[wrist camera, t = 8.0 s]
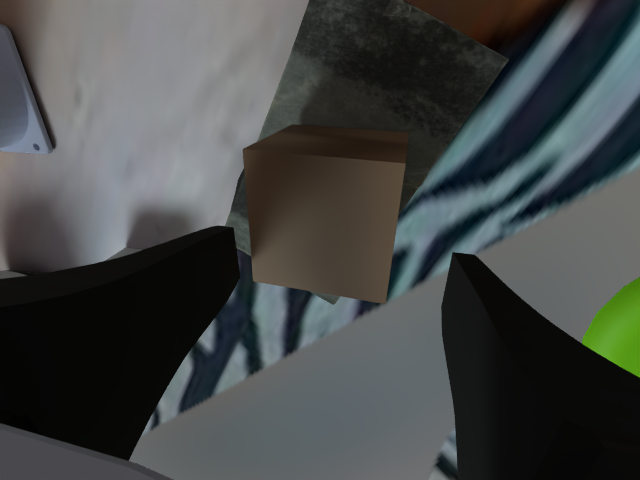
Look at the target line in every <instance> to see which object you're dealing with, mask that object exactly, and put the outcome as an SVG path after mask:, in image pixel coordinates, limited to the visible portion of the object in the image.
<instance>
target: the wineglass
mask: <svg viewBox="0 0 640 480" xmlns="http://www.w3.org/2000/svg"><path fill="white" fill-rule="evenodd" d="M582 344H583V345H585V346H586V347H588V348H590V349H591V350H593V351H595V352H596V353H598V354H600V355H601V356H603V357H605V358H606V359H608V360H610V361H611V362H613V363H615V364H616V365H618V366H620V367H622V368H623V369H625V370H627V371H629V372H631V373H632V374H634V375H636V376H638V377H640V277H639V278H637V279H636V280H634V281H633V282H631V283H630V284H628V285H626V286H624V287H623V288H622V289H621V290H620V291H619V292H618V293H617V294H616V295H615V296H614V297H613V298H612V299H611V300H610V301H609V302H608V303H607V304H606V305H605V306H604V307H603V308H602V309H601V310H599V311H598V313H597V314H596V316H595V318H594V319H593V321H592V323H591V325H590V327H589V328H588V330H587V331H586V334H585V335H584V337H583V340H582Z"/></svg>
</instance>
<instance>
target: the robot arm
mask: <svg viewBox="0 0 640 480" xmlns="http://www.w3.org/2000/svg"><path fill="white" fill-rule="evenodd" d="M52 150H53V149H52V145H51V142H50V139H49V137H48V134H47V131H46V128H45V125H44V123H43V120H42V117H41V114H40V112H39V109H38V106H37V103H36V101H35V98H34V95H33V92H32V89H31V87H30V84H29V81H28V78H27V76H26V73H25V70H24V67H23V64H22V62H21V59H20V56H19V53H18V51H17V48H16V45H15V42H14V40H13V37H12V34H11V32H10V30H9V29H8V28H7V27H6V26H5V25H2V24H0V151H7V152H21V153H34V154H49V153H51V152H52ZM239 278H240V271H239V264H238V256H237V248H236V241H235V233H234V227H226V226H213V227H209V228H206V229H202V230H199V231H196V232H193V233H191V234H188V235H185V236H182V237H179V238H177V239H174V240H171V241H168V242H165V243H163V244H160V245H157V246H154V247H151V248H147V249H144V250H141V251H138V252H135V253H132V254H129V255H126V256H122V257H118V258H115V259H111V260H107V261H103V262H99V263H95V264H91V265H86V266H81V267H75V268H70V269H65V270H60V271H55V272H49V273H42V274H35V275H28V276H20V277H12V278H3V279H0V480H173V479H171V478H169V477H166V476H164V475H162V474H160V473H157V472H155V471H153V470H150V469H148V468H146V467H144V466H141V465H139V464H137V463H133V462H130V461H129V459H130V457H131V455H132V452H133V450H134V448H135V446H136V444H137V442H138V441H139V439H140V437H141V435H142V433H143V431H144V429H145V427H146V425H147V423H148V421H149V419H150V417H151V415H152V413H153V412H154V410H155V408H156V406H157V404H158V403H159V401H160V399H161V397H162V395H163V394H164V392H165V390H166V388H167V386H168V385H169V383H170V381H171V380H172V378H173V376H174V375H175V373H176V371H177V370H178V368H179V366H180V365H181V363H182V361H183V360H184V358H185V357H186V355H187V354H188V353H189V351H190V350H191V348H192V347H193V346H194V344H195V343H196V342H197V340H198V339H199V338H200V336H201V335H202V334H203V332H204V331H205V330H206V329H207V327H208V326H209V325H210V323H211V322H212V321H213V319H214V318H215V317H216V315H217V314H218V313H219V311H220V310H221V309H222V307H223V306H224V305H225V303H226V302H227V300H228V299H229V297H230V295H231V294H232V292H233V290H234V288H235V286H236V284H237V282H238V280H239ZM441 307H442V308H441V309H442V337H443V343H444V350H445V355H446V362H447V368H448V374H449V380H450V386H451V392H452V398H453V405H454V413H455V428H456V445H457V466H458V480H640V377H638V376H636V375H634V374H632V373H631V372H629V371H627V370H625V369H623V368H622V367H620V366H618V365H616V364H615V363H613V362H611V361H610V360H608V359H606V358H605V357H603V356H601V355H600V354H598V353H596V352H595V351H593V350H591V349H590V348H588V347H586V346H585V345H583V344H582V343H580V342H579V341H577V340H575V339H574V338H573V337H571V336H569V335H568V334H567V333H565V332H564V331H563V330H561V329H560V328H558V327H557V326H555V325H554V324H553V323H551V322H550V321H549V320H547V319H546V318H545V317H543V316H542V315H541V314H539V313H538V312H537V311H536V310H534V309H533V308H532V307H531V306H530V305H528V304H527V303H526V302H525V301H523V300H522V299H521V298H520V297H519V296H518V295H517V294H515V293H514V292H513V291H512V290H511V289H510V288H509V287H508V286H506V284H505V283H503V282H502V281H501V280H500V279H499V278H498V277H497V276H496V275H495V274H494V273H493V272H492V271H491V270H490V269H489V268H488V267H487V266H486V265H485V264H484V263H483V262H482V261H481V260H480V259H479V258H478V257H477V256H475V255H472V254H464V253H455V252H453V253H452V258H451V263H450V268H449V273H448V278H447V282H446V287H445V292H444V297H443V302H442V306H441Z"/></svg>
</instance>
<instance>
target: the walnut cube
mask: <svg viewBox="0 0 640 480" xmlns="http://www.w3.org/2000/svg"><path fill="white" fill-rule="evenodd" d="M408 137H409V132H397V131H383V130H369V129H354V128H340V127H326V126H311V125H297V124H292V125H290V126H288V127H286V128H284V129H282V130H280V131H278V132H276V133H274V134H272V135H270V136H268V137H266V138H264V139H262V140H260V141H258V142H256V143H254V144H252V145H250V146H248V147H246V148H244V149H243V159H244V171H245V184H246V196H247V209H248V221H249V234H250V246H251V259H252V271H253V281H255V282H261V283H267V284H272V285H278V286H284V287H290V288H296V289H302V290H307V291H313V292H319V293H325V294H331V295H336V296H342V297H348V298H354V299H360V300H365V301H371V302H377V303H383V304H385V303H386V296H387V289H388V282H389V275H390V269H391V262H392V255H393V248H394V241H395V234H396V227H397V220H398V213H399V206H400V199H401V192H402V185H403V178H404V171H405V165H406V156H407V146H408Z"/></svg>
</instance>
